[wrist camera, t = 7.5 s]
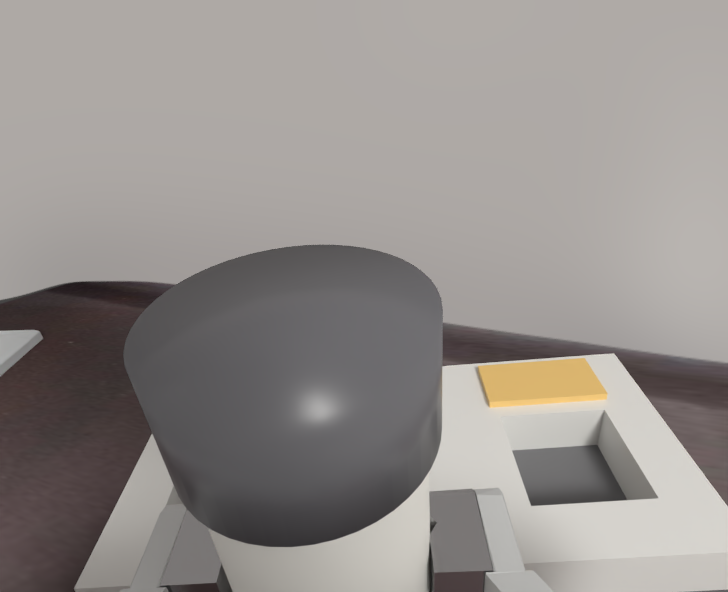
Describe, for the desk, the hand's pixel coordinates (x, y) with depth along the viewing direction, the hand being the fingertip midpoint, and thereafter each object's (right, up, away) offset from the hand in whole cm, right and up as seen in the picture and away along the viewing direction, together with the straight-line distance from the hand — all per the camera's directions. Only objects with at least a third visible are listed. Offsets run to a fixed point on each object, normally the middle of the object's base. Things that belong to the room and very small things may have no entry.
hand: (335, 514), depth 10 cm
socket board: (+2, -6, +15) cm, 16 cm away
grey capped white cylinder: (+1, -6, +3) cm, 7 cm away
